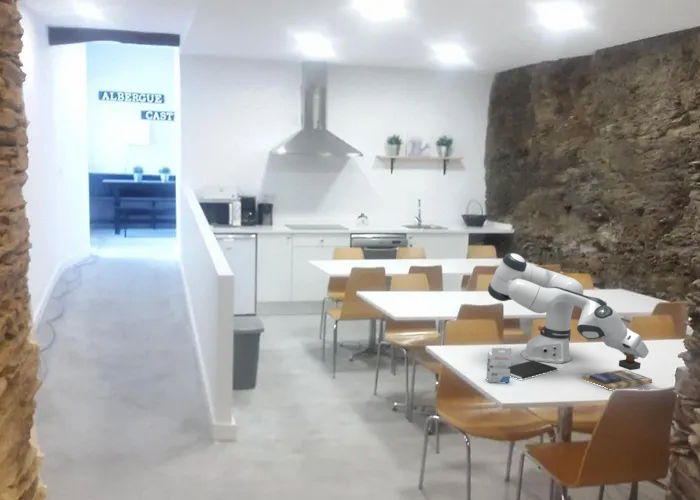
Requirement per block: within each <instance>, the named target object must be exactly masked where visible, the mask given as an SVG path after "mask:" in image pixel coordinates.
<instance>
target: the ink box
mask: <svg viewBox="0 0 700 500" xmlns="http://www.w3.org/2000/svg"><path fill="white" fill-rule="evenodd" d="M500 351H501V352H500ZM486 364H487V365H486V376H485V378H487V379H488V380H487V379H486V380H487V381H488V383H490V382H509V383H510V378H511V377H510V367H511V366H512V365H511V364H512V348H511V347H509V348H508V347H492V349H491V351H488V352H487V362H486Z"/></svg>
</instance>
